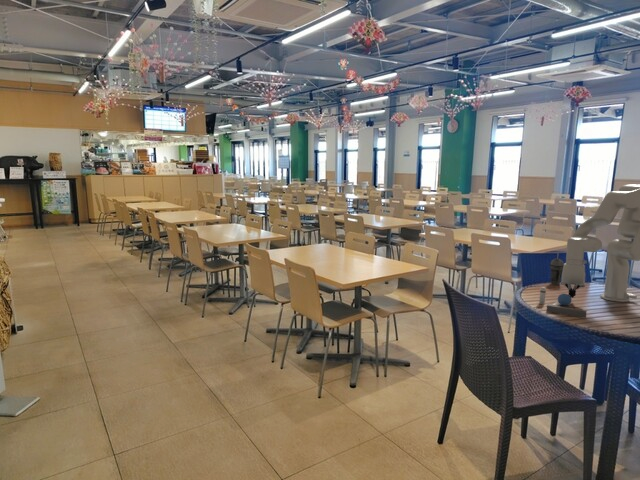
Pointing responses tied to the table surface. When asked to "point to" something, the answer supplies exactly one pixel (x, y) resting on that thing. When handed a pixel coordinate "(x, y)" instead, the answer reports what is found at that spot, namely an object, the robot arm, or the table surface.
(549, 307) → the back wall
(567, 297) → the ball
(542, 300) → the grey pin
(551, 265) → the beverage cup
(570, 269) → the robot arm
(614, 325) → the table surface
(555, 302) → the cream pin
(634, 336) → the table surface
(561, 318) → the table surface
